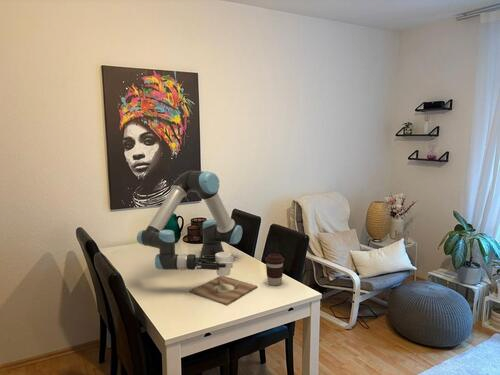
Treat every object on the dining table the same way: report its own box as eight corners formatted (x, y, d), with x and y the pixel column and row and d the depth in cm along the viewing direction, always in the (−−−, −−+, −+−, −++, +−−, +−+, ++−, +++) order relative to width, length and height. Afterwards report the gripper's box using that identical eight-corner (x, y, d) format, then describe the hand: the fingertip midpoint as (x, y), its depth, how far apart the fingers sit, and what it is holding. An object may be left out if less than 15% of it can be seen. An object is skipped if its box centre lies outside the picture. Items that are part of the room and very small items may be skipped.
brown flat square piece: (221, 277, 203) (221, 271, 203) (257, 287, 189) (257, 282, 189) (189, 292, 184) (189, 286, 184) (227, 305, 170) (227, 299, 170)
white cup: (219, 277, 180) (218, 258, 179) (213, 272, 187) (212, 253, 185) (233, 275, 184) (233, 255, 182) (227, 269, 191) (227, 251, 189)
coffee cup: (286, 280, 198) (286, 253, 196) (281, 288, 189) (281, 259, 186) (268, 278, 201) (268, 251, 199) (262, 285, 192) (262, 257, 190)
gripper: (191, 262, 195) (234, 262, 195) (183, 277, 175) (231, 277, 175) (190, 248, 194) (234, 248, 194) (182, 261, 174) (231, 262, 174)
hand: (233, 262), depth 184 cm, fingers closed on white cup, 8 cm apart
